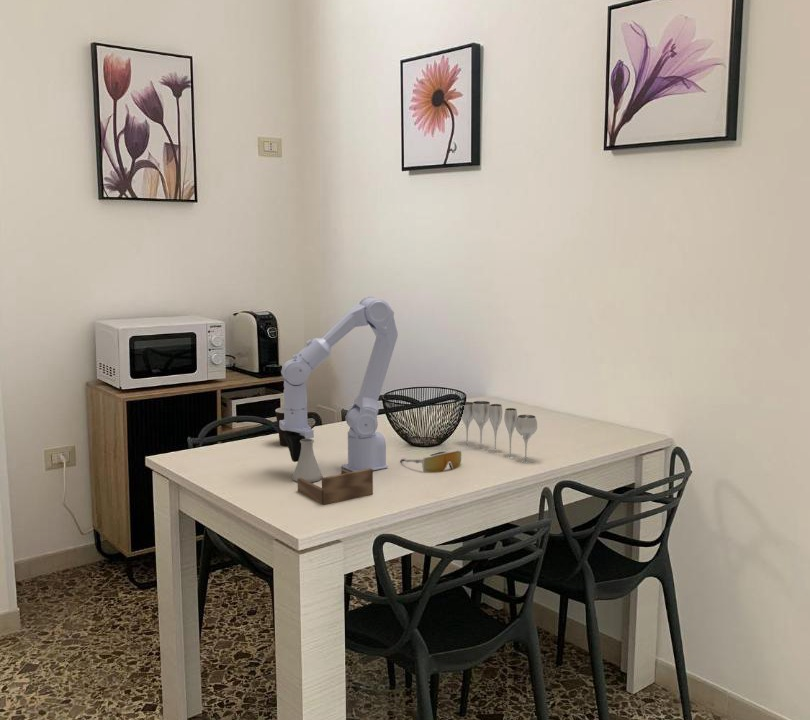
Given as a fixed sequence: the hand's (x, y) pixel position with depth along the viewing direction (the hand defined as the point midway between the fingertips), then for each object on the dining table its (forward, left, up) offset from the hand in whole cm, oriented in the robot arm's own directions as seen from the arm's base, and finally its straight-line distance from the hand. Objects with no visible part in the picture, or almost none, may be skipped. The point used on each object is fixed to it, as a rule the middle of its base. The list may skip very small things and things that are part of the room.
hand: (296, 460), depth 208 cm
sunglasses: (-33, +13, -4) cm, 36 cm away
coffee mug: (-14, -27, -4) cm, 30 cm away
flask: (0, +5, -4) cm, 7 cm away
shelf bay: (0, +18, -3) cm, 19 cm away
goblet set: (-55, +13, -4) cm, 57 cm away
